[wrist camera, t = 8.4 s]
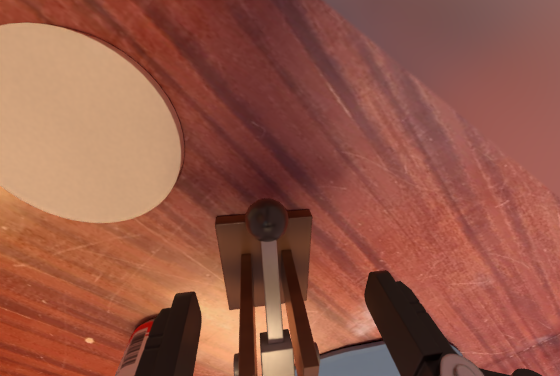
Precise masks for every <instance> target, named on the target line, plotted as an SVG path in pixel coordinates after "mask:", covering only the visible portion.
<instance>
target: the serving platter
mask: <svg viewBox="0 0 560 376" xmlns="http://www.w3.org/2000/svg"><path fill="white" fill-rule="evenodd" d="M451 346H452V345H451ZM452 348H453V349H454V350H455V352H456V353H457V354H458V355H460V356H462V354H461V353H460V351H458V350H457V349H456V348H455V347H454V346H452ZM294 367H295V376H297V371H296V366H294ZM318 376H401V375H400V373H399V371H398V369H397V367H396V365H395V363H394V361H393V359H392V357H391V355H390V353H389V351H388V349H387V347H386V344H385V342H384V341H379V342H374V343H369V344H363V345H358V346H353V347H348V348H343V349H339V350H336V351H332V352H329V353H326V354H323V355H320V366H319V374H318Z"/></svg>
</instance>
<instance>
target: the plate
mask: <svg viewBox="0 0 560 376" xmlns="http://www.w3.org/2000/svg"><path fill="white" fill-rule="evenodd" d="M183 161H184V138H183V132H182V129H181V125H180V121H179V119H178V117H177V114H176V112H175V109H174V108H173V106H172V104H171V102H170V100H169V99H168V97H167V95H166V94H165V93H164V91H163V90H162V88H161V87H160V86H159V84H158V83H157V82H156V81H155V80H154V79H153V78H152V76H151V75H150V74H149V73H148V72H147V71H146V70H145V69H143V68H142V67H141V66H140V65H139V64H138V63H137V62H136V61H134V60H133V59H132V58H130V57H129V56H128V55H126V54H125V53H124V52H122V51H120V50H119V49H117V48H115V47H114V46H112V45H110V44H109V43H107V42H105V41H103V40H100V39H98V38H96V37H94V36H92V35H89V34H86V33H83V32H80V31H77V30H73V29H68V28H63V27H59V26H53V25H48V24H40V23H27V22H26V23H11V24H5V25H1V26H0V186H1V187H3V188H4V189H5V190H7V191H8V192H9V193H11V194H13V195H14V196H16V197H17V198H19V199H20V200H22V201H24V202H26V203H28V204H30V205H31V206H33V207H36V208H38V209H40V210H43V211H45V212H47V213H50V214H53V215H56V216H59V217H63V218H67V219H71V220H75V221H82V222H90V223H112V222H120V221H125V220H129V219H133V218H135V217H138V216H141V215H143V214H145V213H147V212H149V211H150V210H152V209H153V208H155V207H156V206H157V205H159V204H160V203H161V202H162V201H163V200H164V199H165V198H166V197H167V196H168V194H169V193H170V191H171V190H172V189H173V187H174V185H175V183H176V181H177V179H178V177H179V175H180V173H181V169H182V166H183Z"/></svg>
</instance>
